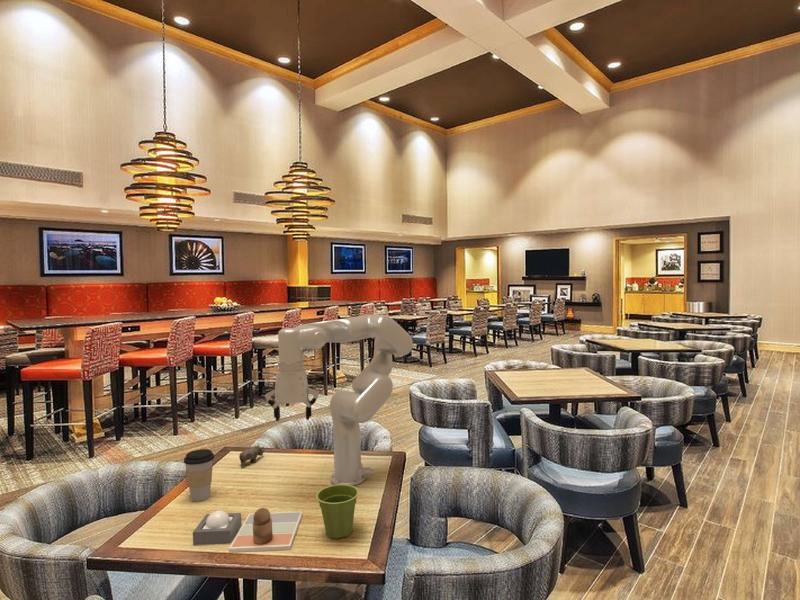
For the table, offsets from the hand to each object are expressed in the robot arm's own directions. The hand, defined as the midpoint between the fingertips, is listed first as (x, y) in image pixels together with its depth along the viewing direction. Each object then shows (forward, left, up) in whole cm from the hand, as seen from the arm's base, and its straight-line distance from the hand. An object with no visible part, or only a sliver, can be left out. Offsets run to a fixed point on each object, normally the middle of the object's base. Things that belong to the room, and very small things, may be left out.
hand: (293, 419), depth 153 cm
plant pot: (-16, +22, -26) cm, 38 cm away
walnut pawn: (+4, +26, -25) cm, 36 cm away
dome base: (+18, +20, -26) cm, 38 cm away
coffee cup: (+32, -4, -26) cm, 42 cm away
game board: (+4, +20, -26) cm, 33 cm away
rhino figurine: (+23, -35, -27) cm, 50 cm away
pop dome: (+18, +20, -26) cm, 38 cm away
